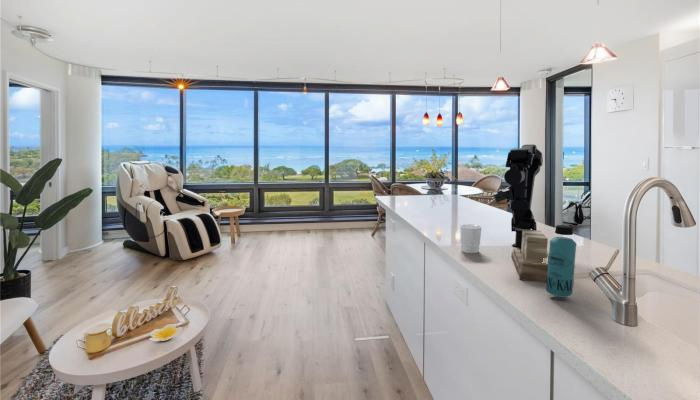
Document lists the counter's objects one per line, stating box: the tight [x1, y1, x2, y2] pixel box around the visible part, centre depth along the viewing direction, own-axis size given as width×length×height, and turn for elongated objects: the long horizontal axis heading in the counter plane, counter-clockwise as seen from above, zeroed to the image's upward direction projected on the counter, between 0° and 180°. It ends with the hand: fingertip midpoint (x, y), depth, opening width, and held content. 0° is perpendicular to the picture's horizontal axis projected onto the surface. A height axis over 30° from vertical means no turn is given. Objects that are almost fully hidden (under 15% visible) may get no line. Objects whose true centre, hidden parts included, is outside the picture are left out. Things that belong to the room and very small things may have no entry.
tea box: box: [520, 229, 549, 263], centre depth 130 cm, size 13×6×9 cm, turn 162°
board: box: [510, 248, 549, 283], centre depth 127 cm, size 26×12×5 cm, turn 162°
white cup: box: [459, 224, 482, 254], centre depth 149 cm, size 8×8×10 cm
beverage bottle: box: [545, 224, 577, 298], centre depth 101 cm, size 6×7×20 cm
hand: (515, 224), depth 141 cm, fingers open, 3 cm apart
